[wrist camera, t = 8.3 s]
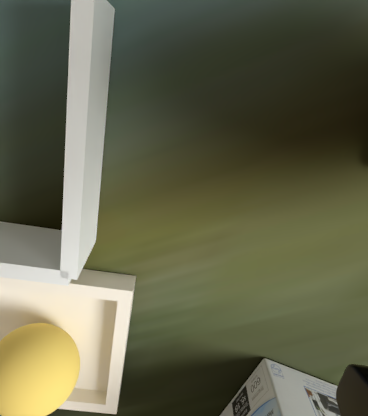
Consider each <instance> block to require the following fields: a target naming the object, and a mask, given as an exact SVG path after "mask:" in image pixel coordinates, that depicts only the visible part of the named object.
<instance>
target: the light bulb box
mask: <svg viewBox="0 0 368 416" xmlns="http://www.w3.org/2000/svg"><path fill="white" fill-rule="evenodd" d="M337 387H338V386H336V385H333V384H331V383H328V382H326V381H323V380H320V379H318V378H315V377H313V376H310V375H308V374H305V373H302V372H300V371H297V370H295V369H292V368H289V367H287V366H284V365H282V364H279V363H277V362H274V361H271V360H269V359H266V358H264V359H263V360H262V361H261V362H260V364H259V365H258V366H257V368H256V369H255V370H254V372H253V373H252V374H251V376H250V377H249V378H248V379H247V381H246V382H245V383H244V385H243V386H242V387H241V388H240V390H239V391H238V392H237V394H236V395H235V396H234V398H233V399H232V400H231V402H230V403H229V404H228V406H227V407H226V408H225V409H224V411H223V412H222V413H221V415H220V416H341V415H340V412H339V408H338V404H337V400H336V390H337Z"/></svg>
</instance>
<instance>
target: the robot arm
mask: <svg viewBox="0 0 368 416" xmlns="http://www.w3.org/2000/svg"><path fill="white" fill-rule="evenodd" d="M336 400H337V404H338V408H339V412H340V415H341V416H368V366H365V365H356V364H350V365H348V366H347V367H346V369H345V372H344V374H343V376H342V378H341V380H340V383H339V385H338V387H337V390H336Z"/></svg>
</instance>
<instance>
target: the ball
mask: <svg viewBox="0 0 368 416" xmlns="http://www.w3.org/2000/svg"><path fill="white" fill-rule="evenodd" d="M79 371H80V356H79V351H78V348H77V346H76V343H75V342H74V340H73V339H72V337H71V336H70V335H69V334H68V333H67V332H66V331H64V330H63V329H61V328H60V327H57V326H55V325H52V324H47V323H33V324H28V325H25V326H22V327H19V328H17V329H15V330H14V331H12V332H10V333H9V334H8V335H6V336H5V337H4V338H3V339H2V340H1V341H0V415H2V416H46V415H48V414H50V413H52V412H53V411H55V410H56V409H57V408H59V407H60V406H61V405H62V404H63V403H64V402H65V401H66V400H67V398H68V397H69V396H70V394H71V393H72V391H73V389H74V387H75V385H76V382H77V380H78V377H79Z"/></svg>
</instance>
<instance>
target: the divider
mask: <svg viewBox="0 0 368 416" xmlns="http://www.w3.org/2000/svg"><path fill="white" fill-rule="evenodd" d="M114 14H115V8H114V7H113V6H112V5H111V4H110V3H109V2H108V1H107V0H71V16H70V41H69V66H68V90H67V115H66V140H65V164H64V189H63V213H62V230H57V229H50V228H43V227H36V226H29V225H22V224H15V223H8V222H1V221H0V277H3V278H11V279H19V280H27V281H34V282H42V283H50V284H58V285H66V286H68V285H69V283H70V281H71V279H74V280H77V279H78V277H79V275H80V273H81V271H82V269H83V267H84V264H85V262H86V260H87V258H88V256H89V254H90V252H91V250H92V248H93V246H94V244H95V242H96V233H97V221H98V209H99V196H100V184H101V172H102V160H103V148H104V136H105V124H106V111H107V99H108V87H109V75H110V63H111V51H112V38H113V26H114Z"/></svg>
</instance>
